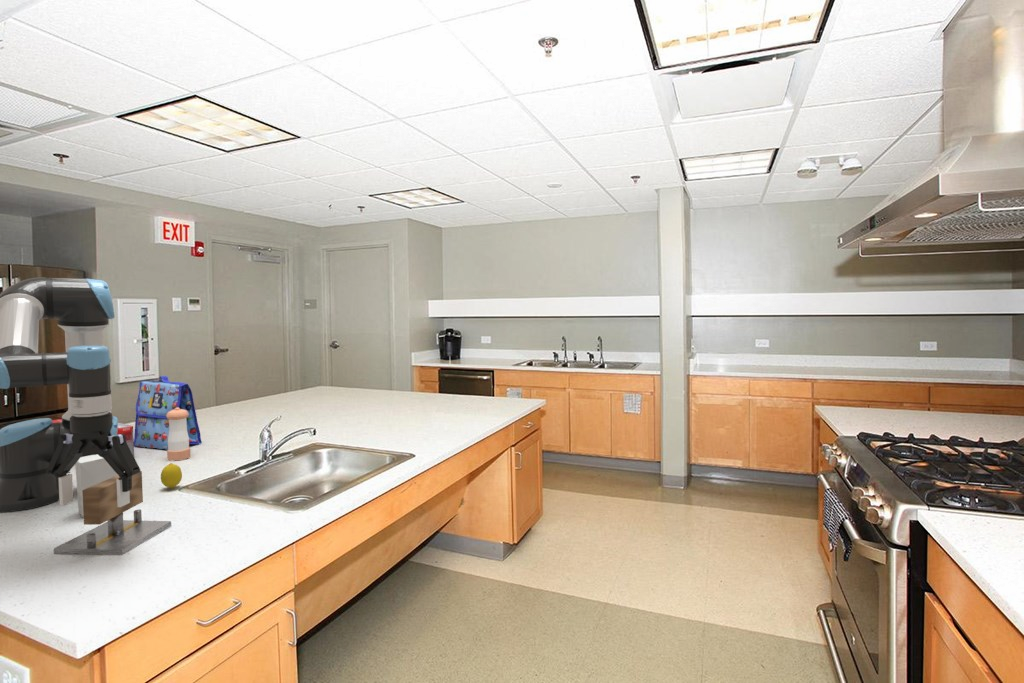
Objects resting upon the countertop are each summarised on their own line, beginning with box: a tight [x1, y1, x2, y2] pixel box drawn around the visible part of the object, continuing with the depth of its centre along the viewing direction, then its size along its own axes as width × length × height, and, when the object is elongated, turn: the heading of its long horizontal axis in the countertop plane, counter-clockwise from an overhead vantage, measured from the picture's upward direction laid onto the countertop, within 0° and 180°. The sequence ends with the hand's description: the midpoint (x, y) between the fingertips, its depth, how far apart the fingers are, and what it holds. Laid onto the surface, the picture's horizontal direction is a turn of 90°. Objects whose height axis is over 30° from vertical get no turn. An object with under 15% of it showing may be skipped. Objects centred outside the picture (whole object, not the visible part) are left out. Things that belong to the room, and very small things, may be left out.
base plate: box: [53, 509, 172, 556], centre depth 125 cm, size 16×16×6 cm
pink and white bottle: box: [166, 408, 191, 461], centre depth 192 cm, size 7×7×19 cm
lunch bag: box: [133, 375, 202, 451], centre depth 210 cm, size 22×14×29 cm, turn 73°
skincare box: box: [74, 454, 118, 519], centre depth 141 cm, size 8×7×16 cm
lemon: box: [160, 462, 183, 489], centre depth 160 cm, size 6×6×8 cm
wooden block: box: [82, 470, 144, 526], centre depth 124 cm, size 14×4×8 cm, turn 1°
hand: (95, 504), depth 119 cm, fingers open, 13 cm apart
